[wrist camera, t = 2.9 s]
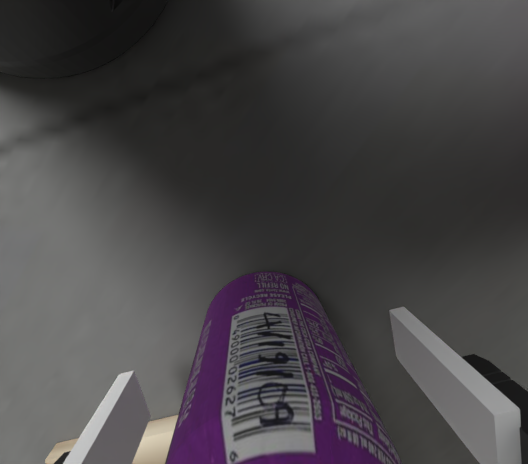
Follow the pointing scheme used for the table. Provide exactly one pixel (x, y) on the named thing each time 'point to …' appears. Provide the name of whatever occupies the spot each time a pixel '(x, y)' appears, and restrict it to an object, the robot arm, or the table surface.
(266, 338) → the beverage can
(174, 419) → the board
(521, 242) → the table surface
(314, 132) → the table surface
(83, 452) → the robot arm
